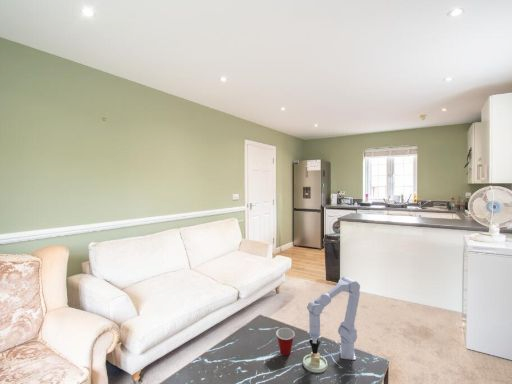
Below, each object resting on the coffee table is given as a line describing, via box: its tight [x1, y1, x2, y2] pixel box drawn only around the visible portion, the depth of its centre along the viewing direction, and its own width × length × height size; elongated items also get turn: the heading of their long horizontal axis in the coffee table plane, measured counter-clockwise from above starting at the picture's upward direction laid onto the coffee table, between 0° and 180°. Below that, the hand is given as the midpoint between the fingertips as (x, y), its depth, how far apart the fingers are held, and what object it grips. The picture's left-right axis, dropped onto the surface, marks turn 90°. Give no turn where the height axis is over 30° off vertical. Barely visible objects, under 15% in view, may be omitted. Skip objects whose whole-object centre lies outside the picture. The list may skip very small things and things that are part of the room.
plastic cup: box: [275, 327, 296, 356], centre depth 159 cm, size 11×11×12 cm
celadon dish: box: [302, 353, 328, 374], centre depth 149 cm, size 13×13×2 cm
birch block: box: [310, 351, 321, 366], centre depth 148 cm, size 4×4×4 cm
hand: (315, 348), depth 148 cm, fingers open, 7 cm apart
